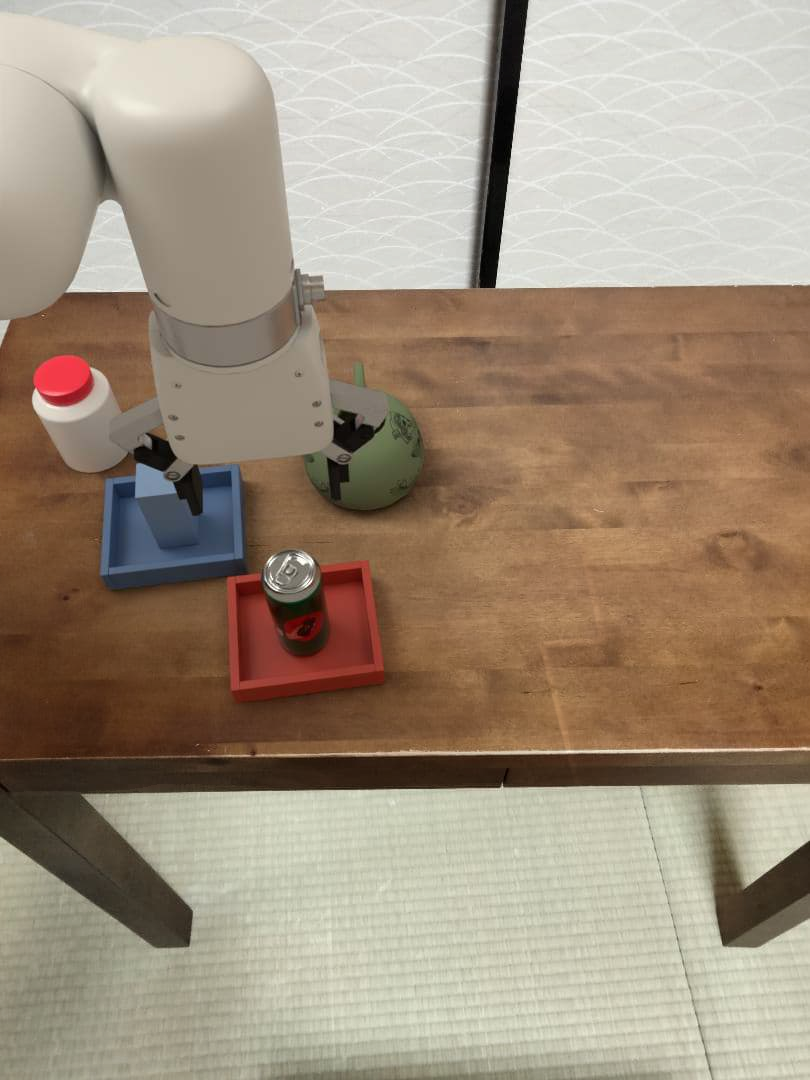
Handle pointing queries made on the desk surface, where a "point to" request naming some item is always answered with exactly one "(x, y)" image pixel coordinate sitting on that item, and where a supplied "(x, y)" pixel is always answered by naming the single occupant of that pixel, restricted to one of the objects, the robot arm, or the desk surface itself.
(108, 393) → the pill bottle
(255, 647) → the red tray
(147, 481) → the blue block
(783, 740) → the desk surface
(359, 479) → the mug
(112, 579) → the blue tray
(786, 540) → the desk surface
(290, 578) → the soda can
